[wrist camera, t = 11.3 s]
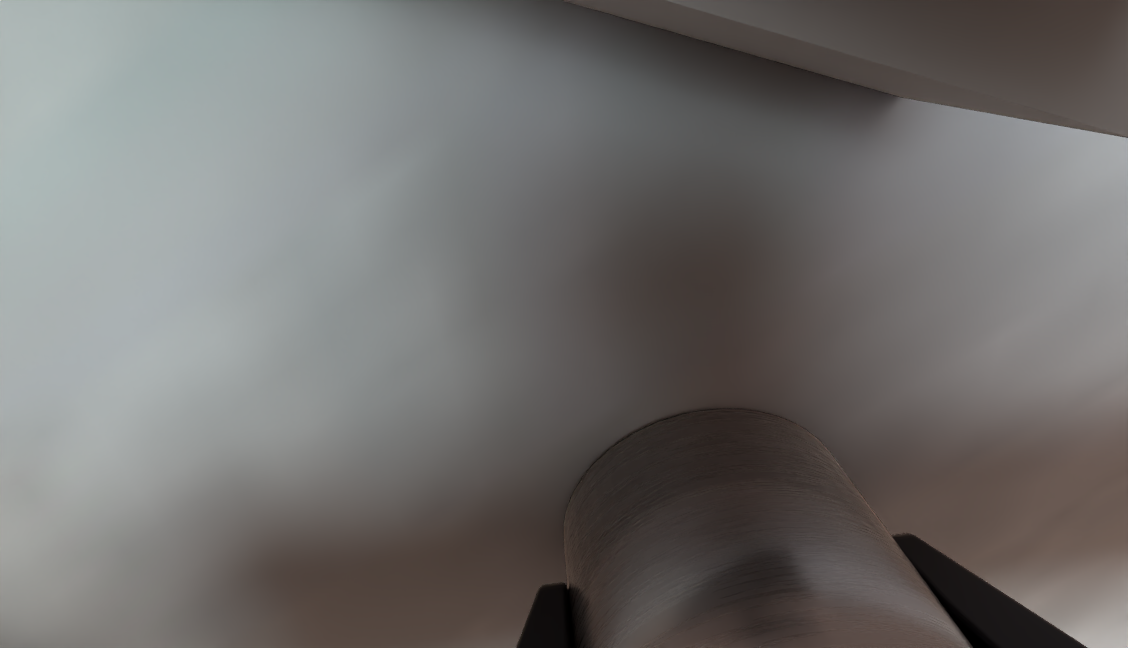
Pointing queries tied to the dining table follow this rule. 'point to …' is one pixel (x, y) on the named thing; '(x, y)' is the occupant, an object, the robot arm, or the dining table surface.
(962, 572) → the robot arm
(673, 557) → the weight
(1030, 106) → the scale base
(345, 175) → the dining table surface
